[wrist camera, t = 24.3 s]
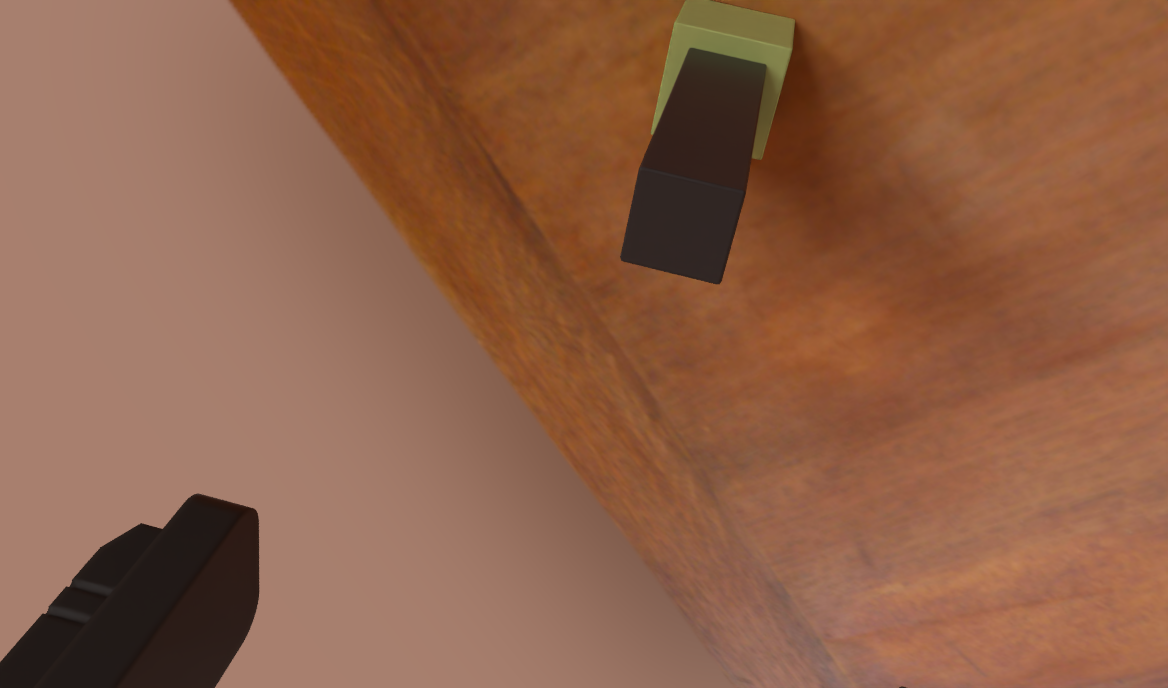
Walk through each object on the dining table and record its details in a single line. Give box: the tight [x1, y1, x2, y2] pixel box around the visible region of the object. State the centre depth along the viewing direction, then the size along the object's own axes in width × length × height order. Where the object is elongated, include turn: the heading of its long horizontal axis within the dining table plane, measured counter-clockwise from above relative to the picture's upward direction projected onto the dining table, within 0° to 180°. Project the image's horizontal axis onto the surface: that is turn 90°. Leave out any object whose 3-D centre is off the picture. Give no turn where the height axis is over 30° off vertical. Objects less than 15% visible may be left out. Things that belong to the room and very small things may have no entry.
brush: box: [620, 0, 795, 284], centre depth 29 cm, size 4×4×14 cm
